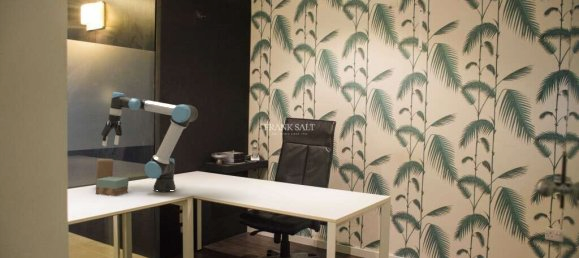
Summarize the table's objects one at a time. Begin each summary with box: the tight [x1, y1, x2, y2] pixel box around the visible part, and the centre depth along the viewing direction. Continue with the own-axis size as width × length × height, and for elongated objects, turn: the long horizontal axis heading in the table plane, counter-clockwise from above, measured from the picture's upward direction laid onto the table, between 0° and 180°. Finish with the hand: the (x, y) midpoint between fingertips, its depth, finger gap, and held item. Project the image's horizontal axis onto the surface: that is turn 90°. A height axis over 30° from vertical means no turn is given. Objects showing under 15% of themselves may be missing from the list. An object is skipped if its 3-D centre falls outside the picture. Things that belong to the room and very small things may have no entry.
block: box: [95, 158, 114, 185], centre depth 296 cm, size 10×10×20 cm
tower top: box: [95, 176, 130, 189], centre depth 282 cm, size 14×14×5 cm
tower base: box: [95, 185, 129, 197], centre depth 282 cm, size 14×14×5 cm
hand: (110, 145), depth 295 cm, fingers open, 13 cm apart
